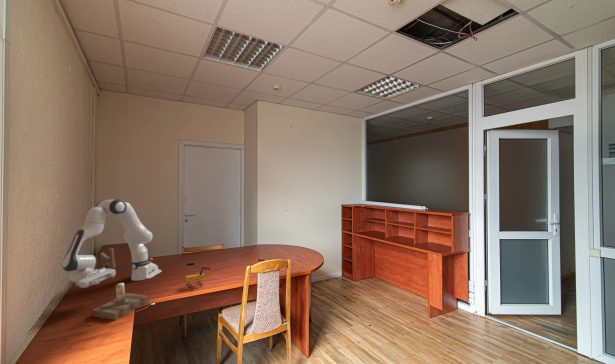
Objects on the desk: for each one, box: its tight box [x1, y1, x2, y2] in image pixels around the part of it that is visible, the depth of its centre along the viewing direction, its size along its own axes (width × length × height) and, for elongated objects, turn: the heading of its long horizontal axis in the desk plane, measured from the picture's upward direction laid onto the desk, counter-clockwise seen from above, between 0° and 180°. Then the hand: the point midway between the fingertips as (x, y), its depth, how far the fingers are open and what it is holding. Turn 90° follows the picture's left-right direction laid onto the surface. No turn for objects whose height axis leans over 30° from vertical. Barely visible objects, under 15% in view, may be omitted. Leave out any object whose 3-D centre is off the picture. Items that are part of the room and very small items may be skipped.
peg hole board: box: [92, 292, 150, 321], centre depth 171 cm, size 22×18×4 cm
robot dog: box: [183, 266, 211, 289], centre depth 200 cm, size 6×18×13 cm, turn 109°
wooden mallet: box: [100, 247, 117, 269], centre depth 246 cm, size 4×11×18 cm, turn 90°
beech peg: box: [114, 282, 129, 306], centre depth 171 cm, size 8×8×15 cm
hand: (106, 279), depth 174 cm, fingers open, 8 cm apart
